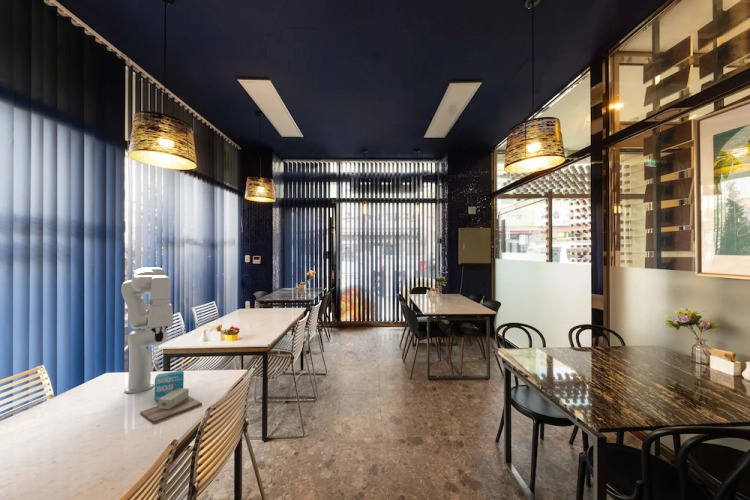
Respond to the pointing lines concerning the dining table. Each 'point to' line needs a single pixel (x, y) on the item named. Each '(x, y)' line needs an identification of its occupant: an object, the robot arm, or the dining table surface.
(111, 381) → the dining table surface
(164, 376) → the data package
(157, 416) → the serving board
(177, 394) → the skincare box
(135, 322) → the robot arm
